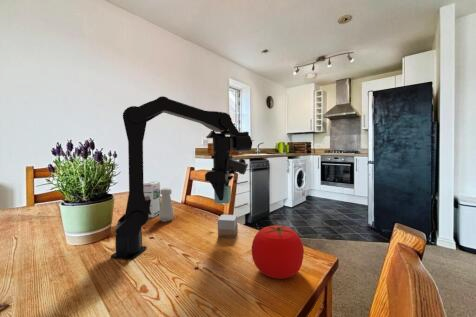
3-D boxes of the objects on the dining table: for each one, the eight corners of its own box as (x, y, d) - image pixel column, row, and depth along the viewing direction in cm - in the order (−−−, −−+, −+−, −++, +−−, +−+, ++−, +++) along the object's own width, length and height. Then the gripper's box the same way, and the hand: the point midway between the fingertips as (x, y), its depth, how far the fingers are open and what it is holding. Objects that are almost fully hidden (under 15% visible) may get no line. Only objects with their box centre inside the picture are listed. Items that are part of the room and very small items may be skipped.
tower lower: (234, 238, 66) (234, 229, 66) (218, 237, 67) (217, 228, 67) (237, 232, 71) (237, 223, 71) (222, 231, 72) (222, 222, 72)
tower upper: (234, 229, 66) (234, 220, 66) (217, 228, 67) (217, 219, 67) (237, 223, 71) (237, 215, 71) (221, 223, 72) (221, 214, 72)
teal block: (228, 203, 66) (227, 188, 66) (214, 203, 67) (214, 188, 67) (230, 200, 71) (230, 185, 70) (218, 199, 71) (217, 185, 71)
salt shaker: (164, 223, 80) (163, 190, 79) (156, 220, 83) (155, 188, 83) (176, 219, 84) (176, 188, 84) (168, 217, 88) (168, 186, 87)
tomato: (278, 296, 39) (278, 242, 39) (241, 268, 49) (241, 225, 49) (315, 274, 46) (315, 228, 46) (276, 253, 56) (276, 215, 56)
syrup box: (153, 217, 87) (152, 183, 87) (141, 216, 88) (140, 183, 88) (161, 213, 93) (160, 181, 92) (149, 213, 94) (148, 181, 93)
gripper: (241, 151, 58) (242, 207, 58) (249, 151, 76) (249, 193, 77) (203, 152, 59) (205, 206, 60) (219, 151, 78) (220, 192, 78)
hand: (223, 198), depth 69 cm, fingers closed on teal block, 4 cm apart
